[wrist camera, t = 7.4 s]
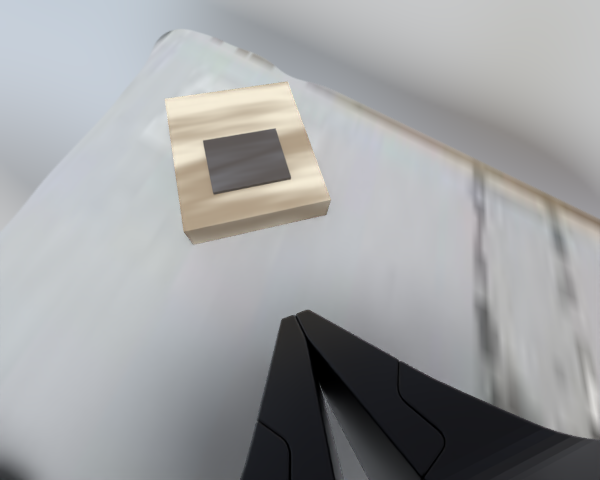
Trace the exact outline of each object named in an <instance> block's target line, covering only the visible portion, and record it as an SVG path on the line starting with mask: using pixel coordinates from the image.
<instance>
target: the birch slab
mask: <svg viewBox="0 0 600 480" xmlns="http://www.w3.org/2000/svg"><path fill="white" fill-rule="evenodd" d="M165 104H166V111H167V118H168V125H169V132H170V139H171V146H172V153H173V160H174V167H175V174H176V181H177V188H178V195H179V202H180V209H181V216H182V223H183V230H184V233H185V234H186V235H187V237H188V238H189V239H190V240H191V242H192V243H193V244H194V245H195V244H199V243H204V242H208V241H213V240H217V239H221V238H226V237H230V236H235V235H239V234H244V233H248V232H252V231H257V230H261V229H266V228H270V227H274V226H279V225H283V224H288V223H292V222H297V221H301V220H305V219H310V218H314V217H319V216H323V215H326V214H327V210H328V207H329V204H330V201H331V199H330V196H329V193H328V190H327V188H326V185H325V182H324V179H323V177H322V174H321V171H320V169H319V166H318V163H317V160H316V158H315V155H314V152H313V149H312V147H311V144H310V141H309V139H308V136H307V133H306V130H305V128H304V125H303V122H302V119H301V117H300V114H299V111H298V109H297V106H296V103H295V100H294V98H293V95H292V92H291V89H290V87H289V84H288V81H287V82H280V83H273V84H266V85H259V86H252V87H245V88H238V89H231V90H224V91H217V92H210V93H203V94H196V95H189V96H182V97H175V98H168V99H165Z"/></svg>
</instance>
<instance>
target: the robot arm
mask: <svg viewBox="0 0 600 480" xmlns="http://www.w3.org/2000/svg"><path fill="white" fill-rule="evenodd" d="M321 389H322V391H323V393H324V395H325V397H326V399H327V401H328V403H329V405H330V407H331V409H332V411H333V413H334V415H335V416H336V418H337V420H338V422H339V424H340V426H341V428H342V430H343V432H344V433H345V435H346V437H347V439H348V441H349V443H350V445H351V447H352V449H353V451H354V452H355V454H356V456H357V458H358V460H359V462H360V464H361V466H362V468H363V469H364V471H365V473H366V475H367V477H368V479H369V480H600V440H596V439H587V438H582V437H577V436H572V435H568V434H564V433H561V432H557V431H554V430H551V429H548V428H545V427H543V426H540V425H538V424H535V423H533V422H530V421H528V420H526V419H524V418H521V417H519V416H517V415H514V414H512V413H510V412H507V411H505V410H503V409H501V408H498V407H496V406H494V405H491V404H489V403H487V402H485V401H482V400H480V399H478V398H475V397H473V396H471V395H469V394H466V393H464V392H462V391H460V390H457V389H455V388H453V387H451V386H449V385H447V384H444V383H442V382H440V381H438V380H436V379H434V378H432V377H430V376H428V375H426V374H424V373H422V372H420V371H419V370H417V369H415V368H413V367H411V366H409V365H408V364H406V363H404V362H402V361H400V362H399V360H398V359H397V358H395V357H393V356H391V355H389V354H388V353H386V352H384V351H382V350H380V349H379V348H377V347H375V346H373V345H371V344H370V343H368V342H366V341H364V340H362V339H361V338H359V337H357V336H355V335H354V334H352V333H350V332H348V331H346V330H345V329H343V328H341V327H339V326H337V325H336V324H334V323H332V322H330V321H328V320H327V319H325V318H323V317H321V316H319V315H318V314H316V313H314V312H312V311H311V310H305V311H302V312H300V313H297V314H296V316H295V315H292V316H289V317H286V318H284V319H282V320H281V323H280V327H279V331H278V335H277V339H276V343H275V348H274V352H273V356H272V360H271V364H270V368H269V372H268V376H267V380H266V385H265V389H264V393H263V397H262V401H261V405H260V409H259V413H258V417H257V423H256V425H255V429H254V433H253V437H252V441H251V445H250V449H249V452H248V456H247V460H246V463H245V467H244V470H243V473H242V476H241V479H240V480H344V478H343V474H342V470H341V466H340V462H339V458H338V454H337V450H336V446H335V442H334V438H333V434H332V430H331V426H330V422H329V418H328V414H327V410H326V406H325V402H324V398H323V394H322V391H321Z"/></svg>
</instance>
